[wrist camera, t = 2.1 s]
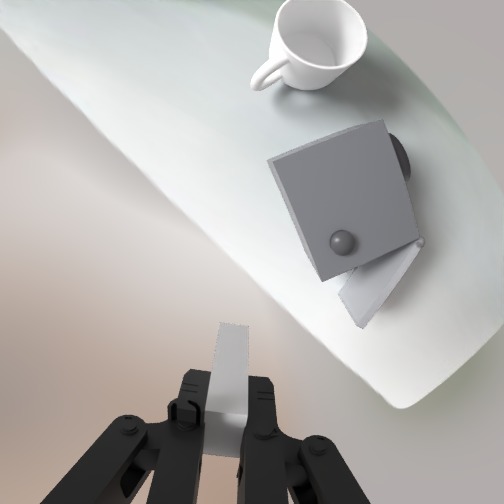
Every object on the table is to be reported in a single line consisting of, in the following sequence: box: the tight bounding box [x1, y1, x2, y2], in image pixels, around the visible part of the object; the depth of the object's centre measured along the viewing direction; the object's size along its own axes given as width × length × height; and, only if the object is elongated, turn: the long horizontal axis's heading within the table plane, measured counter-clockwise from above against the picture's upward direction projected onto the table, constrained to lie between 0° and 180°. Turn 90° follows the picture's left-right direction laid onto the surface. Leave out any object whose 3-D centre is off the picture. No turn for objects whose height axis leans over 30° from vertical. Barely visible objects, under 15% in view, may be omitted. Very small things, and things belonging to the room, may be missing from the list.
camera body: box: [267, 120, 420, 282], centre depth 31 cm, size 12×13×10 cm
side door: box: [338, 236, 425, 329], centre depth 34 cm, size 2×12×8 cm, turn 149°
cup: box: [251, 0, 368, 91], centre depth 26 cm, size 8×12×10 cm
